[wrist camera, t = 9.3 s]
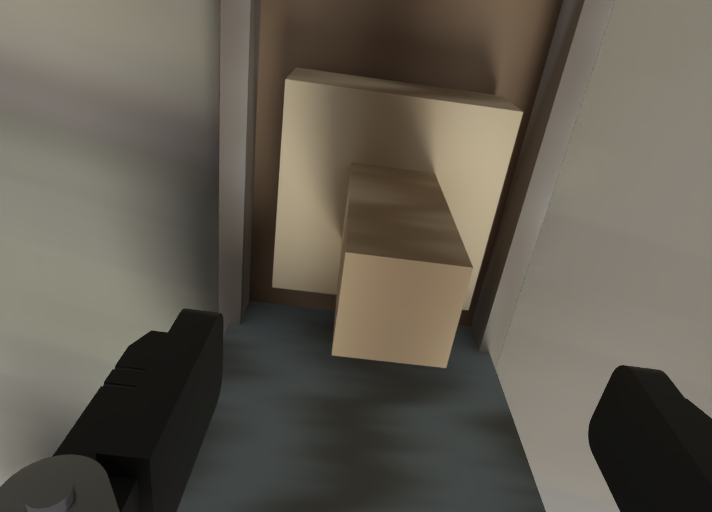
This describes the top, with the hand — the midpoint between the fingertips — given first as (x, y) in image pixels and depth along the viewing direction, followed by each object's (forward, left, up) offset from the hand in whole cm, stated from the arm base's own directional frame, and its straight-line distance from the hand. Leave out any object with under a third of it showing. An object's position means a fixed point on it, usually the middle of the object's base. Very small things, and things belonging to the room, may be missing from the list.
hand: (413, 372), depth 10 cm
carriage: (0, 0, -12) cm, 12 cm away
